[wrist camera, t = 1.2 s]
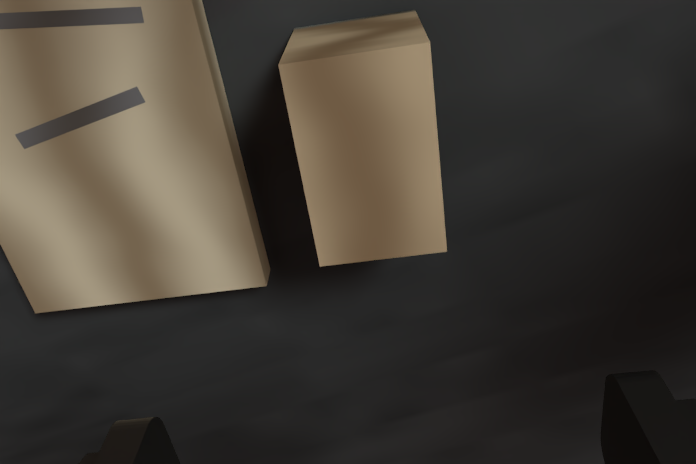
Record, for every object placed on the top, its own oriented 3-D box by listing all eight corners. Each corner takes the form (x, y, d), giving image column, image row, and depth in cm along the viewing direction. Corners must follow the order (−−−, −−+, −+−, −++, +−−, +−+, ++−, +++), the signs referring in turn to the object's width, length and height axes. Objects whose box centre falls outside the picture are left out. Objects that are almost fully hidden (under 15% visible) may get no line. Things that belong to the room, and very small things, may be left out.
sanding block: (414, 9, 25) (429, 42, 19) (430, 185, 29) (447, 251, 23) (294, 27, 25) (278, 64, 20) (326, 198, 29) (319, 266, 24)
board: (99, -402, 19) (79, -424, 17) (270, 269, 31) (266, 286, 30) (-253, -324, 20) (-296, -339, 18) (48, 295, 32) (35, 313, 31)
